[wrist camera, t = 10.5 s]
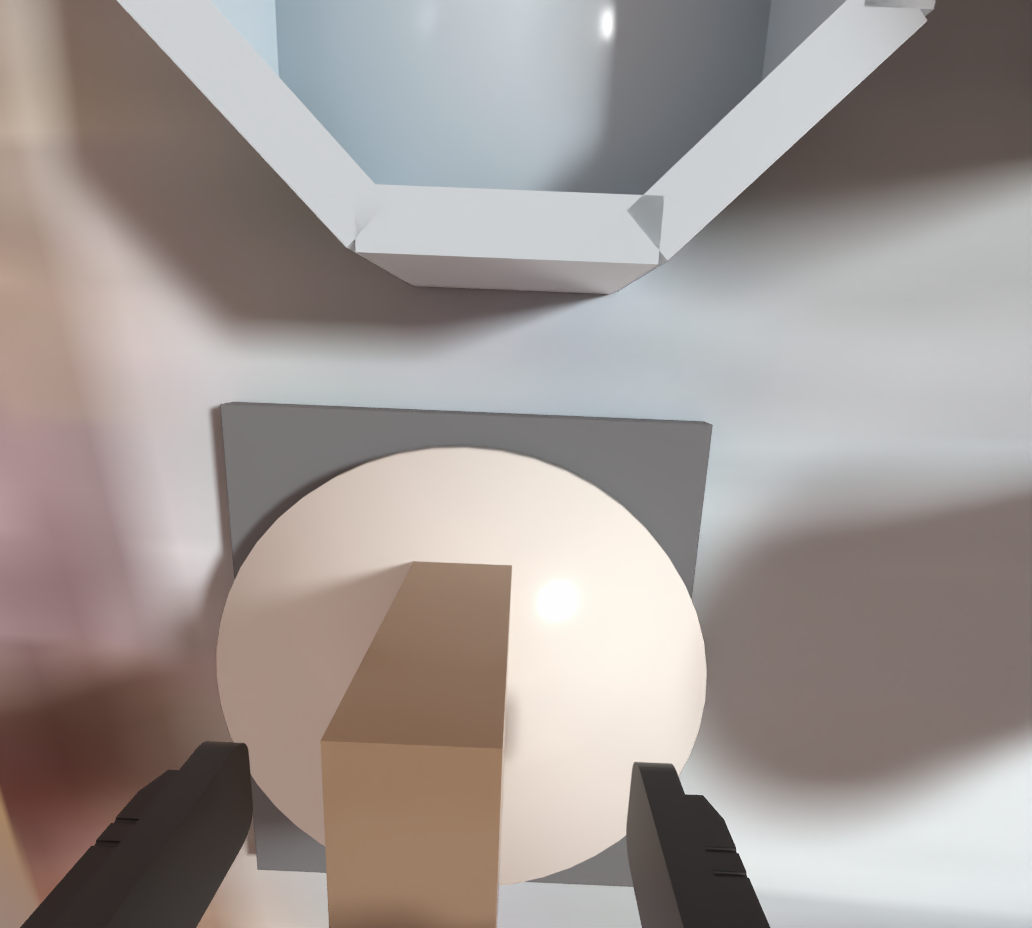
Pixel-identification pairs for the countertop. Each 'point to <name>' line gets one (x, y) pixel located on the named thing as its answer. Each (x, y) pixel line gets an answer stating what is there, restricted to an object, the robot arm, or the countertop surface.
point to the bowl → (524, 118)
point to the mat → (381, 431)
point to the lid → (456, 676)
